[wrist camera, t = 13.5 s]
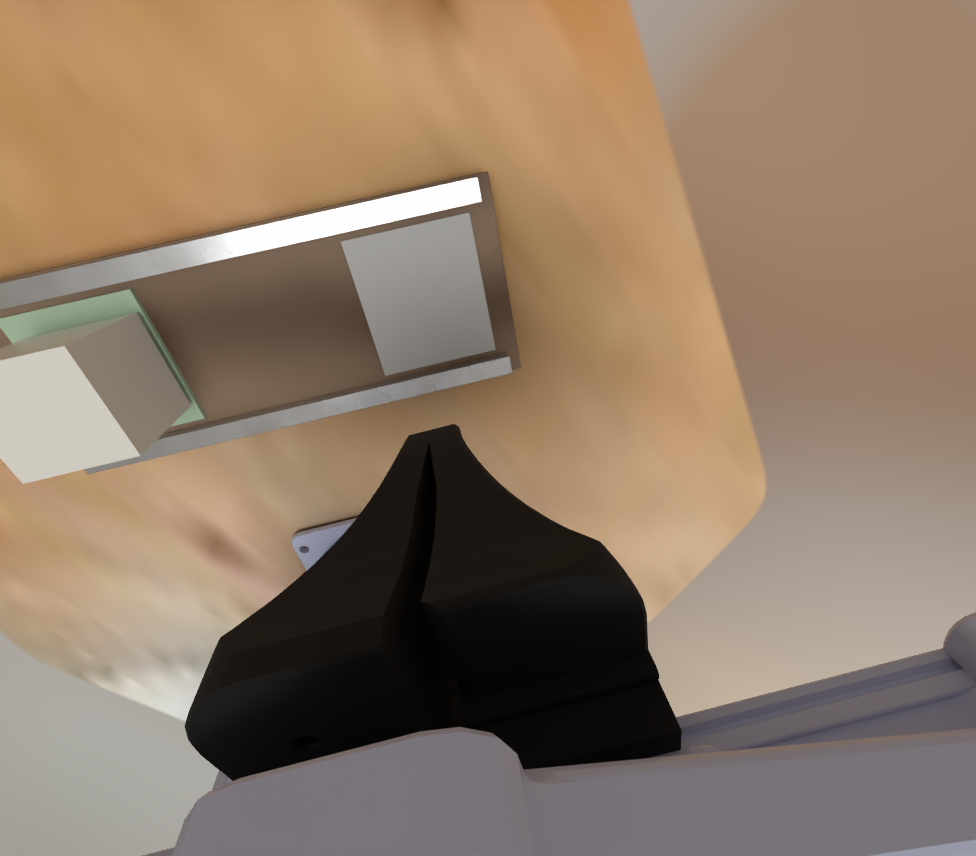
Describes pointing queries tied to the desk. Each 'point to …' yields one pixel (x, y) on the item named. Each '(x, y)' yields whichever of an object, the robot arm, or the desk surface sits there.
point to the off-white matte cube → (84, 398)
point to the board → (300, 310)
